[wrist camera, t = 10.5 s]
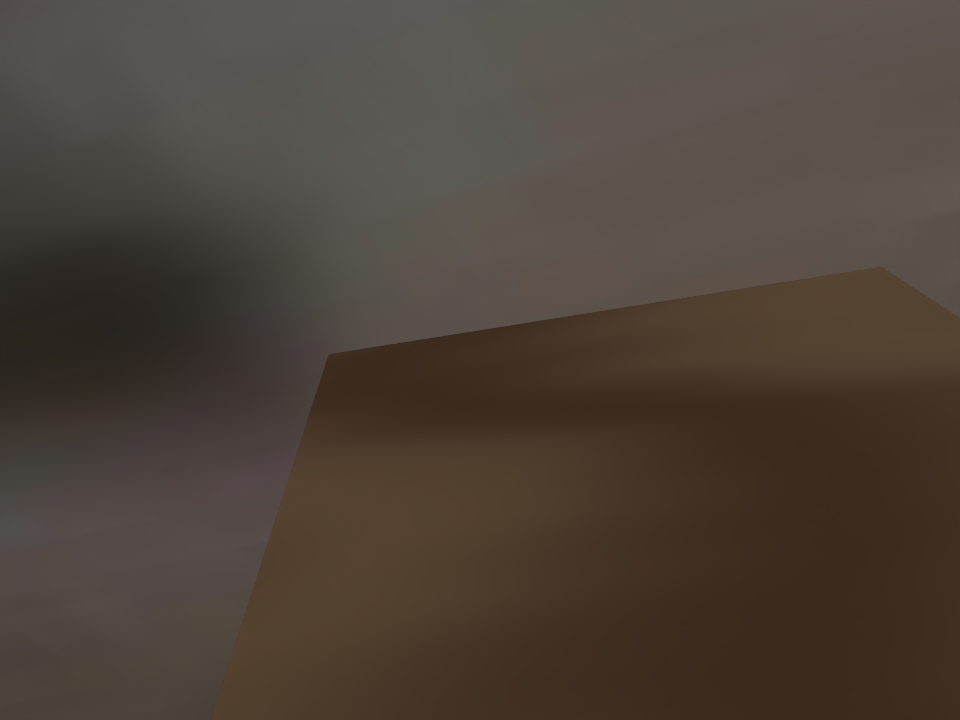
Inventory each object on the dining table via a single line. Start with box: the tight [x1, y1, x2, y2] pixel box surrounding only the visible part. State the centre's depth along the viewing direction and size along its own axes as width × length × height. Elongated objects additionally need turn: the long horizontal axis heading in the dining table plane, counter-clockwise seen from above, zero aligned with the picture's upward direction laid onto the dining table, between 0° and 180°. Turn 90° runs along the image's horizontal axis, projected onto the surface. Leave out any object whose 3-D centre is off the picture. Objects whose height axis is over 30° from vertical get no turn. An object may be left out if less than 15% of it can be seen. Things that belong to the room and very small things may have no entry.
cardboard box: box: [211, 267, 960, 720], centre depth 7 cm, size 6×6×5 cm
